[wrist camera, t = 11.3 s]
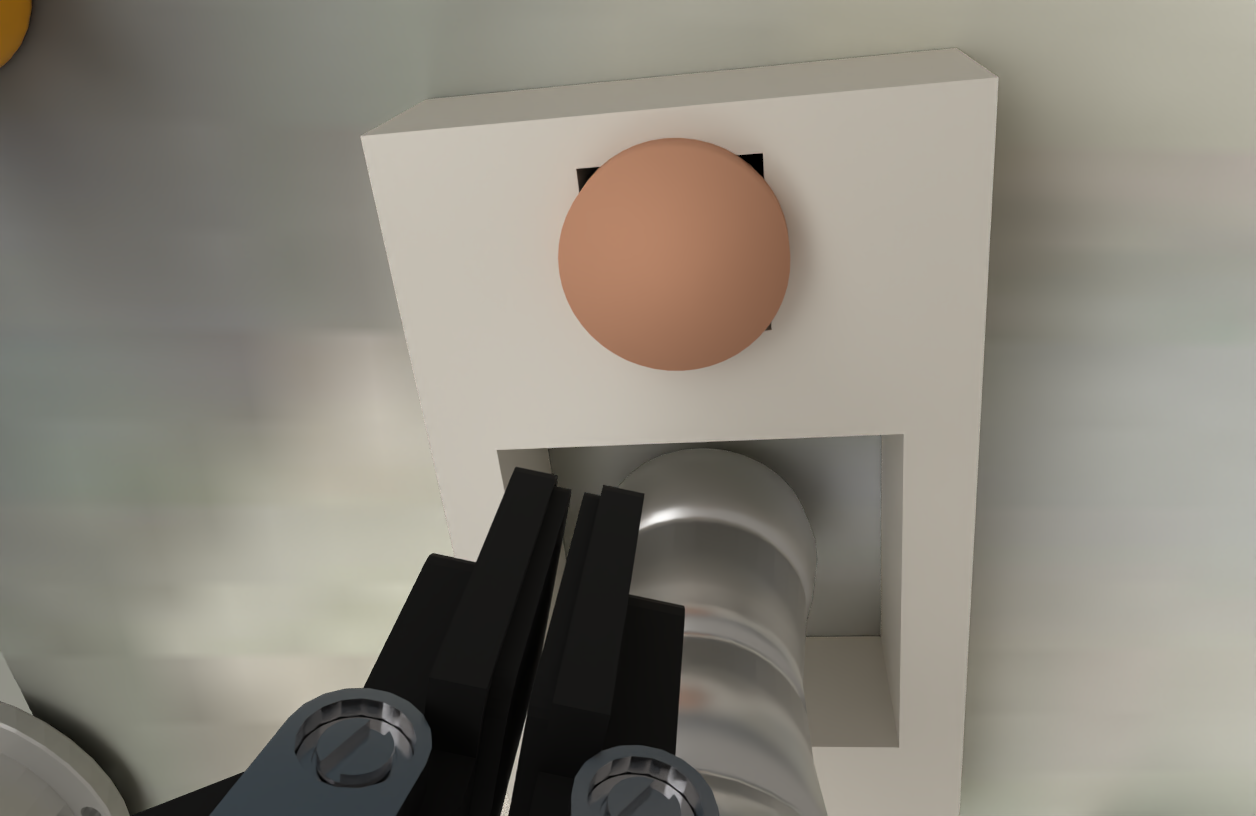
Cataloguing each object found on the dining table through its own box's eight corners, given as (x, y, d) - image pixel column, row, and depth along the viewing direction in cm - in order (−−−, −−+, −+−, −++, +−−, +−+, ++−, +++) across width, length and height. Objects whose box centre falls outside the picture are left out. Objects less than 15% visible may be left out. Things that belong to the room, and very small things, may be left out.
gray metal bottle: (597, 422, 31) (376, 1109, 13) (816, 421, 30) (897, 1158, 12) (612, 589, 34) (447, 1339, 16) (813, 593, 33) (874, 1394, 15)
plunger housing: (929, 812, 37) (953, 937, 32) (561, 805, 39) (536, 921, 34) (956, 47, 25) (998, 77, 20) (426, 99, 27) (360, 135, 23)
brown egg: (788, 285, 28) (794, 365, 23) (606, 296, 28) (574, 376, 24) (781, 93, 25) (785, 136, 21) (583, 112, 26) (542, 158, 21)
